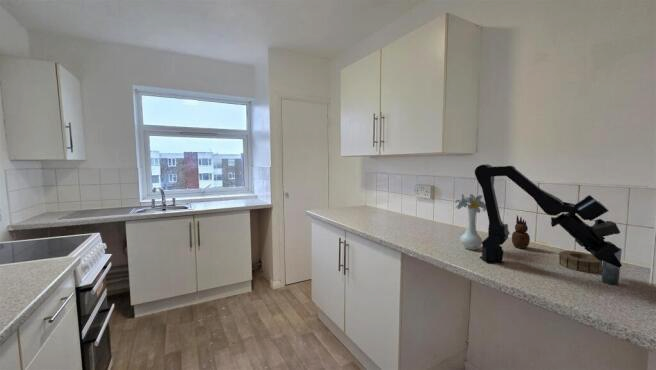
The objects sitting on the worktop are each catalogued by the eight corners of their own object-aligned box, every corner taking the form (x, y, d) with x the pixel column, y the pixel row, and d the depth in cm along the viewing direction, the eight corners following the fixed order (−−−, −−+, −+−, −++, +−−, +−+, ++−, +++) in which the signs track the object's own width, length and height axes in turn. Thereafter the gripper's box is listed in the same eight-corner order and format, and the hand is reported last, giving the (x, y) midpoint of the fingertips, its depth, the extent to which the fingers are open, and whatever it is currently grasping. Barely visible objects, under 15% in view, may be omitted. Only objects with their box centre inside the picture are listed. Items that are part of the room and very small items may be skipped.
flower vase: (497, 248, 129) (500, 194, 126) (469, 254, 121) (471, 197, 119) (472, 240, 141) (474, 191, 138) (445, 246, 133) (447, 193, 130)
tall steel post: (609, 285, 92) (612, 249, 90) (598, 279, 96) (601, 245, 94) (622, 285, 91) (625, 249, 90) (609, 279, 95) (613, 245, 94)
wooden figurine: (508, 246, 132) (510, 214, 130) (517, 244, 134) (518, 213, 132) (523, 250, 125) (525, 217, 124) (531, 249, 127) (533, 216, 126)
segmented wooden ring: (576, 272, 102) (577, 262, 101) (551, 260, 113) (551, 250, 113) (610, 272, 101) (611, 261, 101) (581, 260, 113) (582, 250, 113)
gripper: (613, 218, 84) (661, 259, 81) (589, 208, 101) (627, 241, 97) (577, 241, 89) (621, 280, 85) (560, 227, 105) (596, 260, 102)
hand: (617, 264), depth 92 cm, fingers closed on tall steel post, 4 cm apart
